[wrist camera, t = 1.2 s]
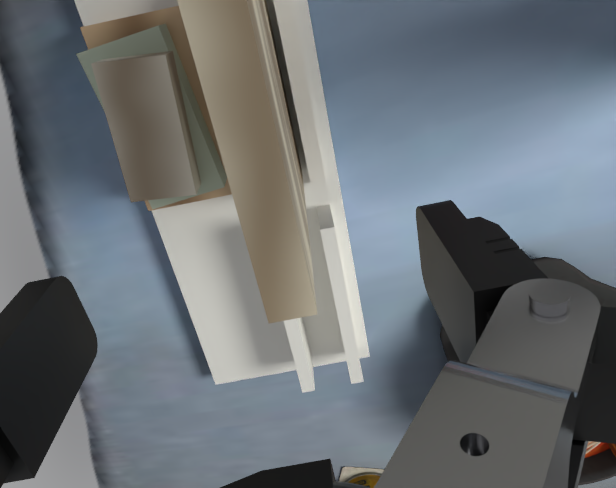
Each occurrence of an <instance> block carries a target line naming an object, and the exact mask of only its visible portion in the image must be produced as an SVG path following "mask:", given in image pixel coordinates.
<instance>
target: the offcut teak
mask: <svg viewBox="0 0 616 488" xmlns="http://www.w3.org/2000/svg"><path fill="white" fill-rule="evenodd" d="M162 24H166V25H167V28H168V30H169V33H170V35H171V38H172V40H173V43H174V45H175V48H176V50H177V53H178V55H179V58H180V60H181V63H182V65H183V68H184V70H185V73H186V75H187V78H188V80H189V83H190V85H191V88H192V90H193V93H194V95H195V98H196V100H197V103H198V105H199V107H200V110H201V112H202V115H203V117H204V120H205V122H206V125H207V127H208V130H209V132H210V135H211V137H212V140H213V142H214V145H215V147H216V150H217V152H218V155H219V157H220V160H221V162H222V165H223V167H224V164H223V161H222V157H221V154H220V150H219V147H218V143H217V139H216V136H215V132H214V129H213V125H212V122H211V118H210V115H209V111H208V108H207V104H206V101H205V97H204V94H203V90H202V86H201V83H200V79H199V76H198V72H197V69H196V65H195V62H194V58H193V55H192V51H191V48H190V44H189V41H188V37H187V34H186V30H185V26H184V23H183V19H182V16H181V12H180V9H179V6H175V7H170V8H166V9H161V10H157V11H152V12H147V13H143V14H138V15H134V16H129V17H125V18H120V19H116V20H111V21H107V22H102V23H97V24H93V25H88V26H84V27H80V29H81V31H82V34H83V37H84V39H85V42H86V45H87V47H88V50H89V49H92V48H95V47H98V46H101V45H103V44H106V43H109V42H112V41H115V40H118V39H121V38H124V37H126V36H129V35H132V34H135V33H138V32H141V31H144V30H147V29H150V28H152V27H155V26H158V25H162ZM224 170H225V168H224ZM225 172H226V171H225ZM231 194H232V192H231V189H230V185H229V182H228V178H227V180H226V183H225V187H223V188H220V189H217V190H214V191H210V192H207V193H204V194H201V195H198V196H194V197H191V198H188V199H185V200H181V201H178V202H175V203H172V204H169V205H165V206H162V207H159V208H156V209H152V208H151V206H150V204H149V202H148V200H147V201H145V203H146V206H147V209H148V211H152V210H157V209H162V208H167V207H172V206H177V205H182V204H187V203H192V202H197V201H202V200H207V199H211V198H216V197H221V196H226V195H231Z"/></svg>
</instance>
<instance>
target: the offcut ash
mask: <svg viewBox="0 0 616 488" xmlns="http://www.w3.org/2000/svg"><path fill="white" fill-rule="evenodd" d="M91 65H92V69H93V72H94V76H95V79H96V83H97V86H98V90H99V93H100V97H101V100H102V104H103V107H104V111H105V114H106V118H107V121H108V125H109V128H110V131H111V135H112V138H113V142H114V145H115V149H116V152H117V156H118V159H119V163H120V166H121V170H122V173H123V177H124V180H125V184H126V187H127V191H128V194H129V198H130V201H131V202H138V201H147V200H155V199H164V198H173V197H181V196H190V195H197V192H198V190H199V188H200V185H201V180H200V175H199V171H198V166H197V161H196V157H195V152H194V147H193V143H192V138H191V133H190V129H189V124H188V119H187V115H186V110H185V105H184V101H183V96H182V91H181V87H180V82H179V77H178V73H177V68H176V63H175V59H174V54H173V51H168V52H159V53H151V54H142V55H134V56H125V57H117V58H108V59H102V60H99V61H97V62H94V63H91Z"/></svg>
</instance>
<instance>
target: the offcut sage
mask: <svg viewBox="0 0 616 488" xmlns="http://www.w3.org/2000/svg"><path fill="white" fill-rule="evenodd" d="M168 51H173V54H174V59H175V63H176V68H177V73H178V77H179V82H180V87H181V91H182V96H183V101H184V105H185V110H186V115H187V119H188V124H189V129H190V133H191V138H192V143H193V147H194V152H195V157H196V161H197V166H198V171H199V175H200V180H201V185H200V188H199V190H198V192H197V195H190V196H181V197H173V198H164V199H155V200H148V202H149V204H150V206H151V208H152V209H156V208H159V207H162V206H165V205H169V204H172V203H175V202H178V201H181V200H185V199H188V198H191V197H194V196H198V195H201V194H204V193H207V192H210V191H214V190H217V189H220V188H223V187H225V183H226V180H227V175H226V172H225V170H224V167H223V165H222V162H221V160H220V157H219V155H218V152H217V150H216V147H215V145H214V142H213V140H212V137H211V135H210V132H209V130H208V127H207V125H206V122H205V120H204V117H203V115H202V112H201V110H200V107H199V105H198V103H197V100H196V98H195V95H194V93H193V90H192V88H191V85H190V83H189V80H188V78H187V75H186V73H185V70H184V68H183V65H182V63H181V60H180V58H179V55H178V53H177V50H176V48H175V45H174V43H173V40H172V38H171V35H170V33H169V30H168V28H167V25H166V24H162V25H158V26H155V27H152V28H150V29H147V30H144V31H141V32H138V33H135V34H132V35H129V36H126V37H124V38H121V39H118V40H115V41H112V42H109V43H106V44H103V45H101V46H98V47H95V48H92V49H89V50H86V51H83V52H80V53H77V54H76V55H77V57H78V59H79V61H80V63H81V65H82V67H83V69H84V71H85V73H86V75H87V77H88V79H89V81H90V83H91V85H92V87H93V89H94V91H95V93H96V96H97V98H98V100H99V102H100V104H101V106H102V108H103V110H104V107H103V104H102V100H101V97H100V93H99V90H98V86H97V83H96V79H95V76H94V72H93V69H92V65H91V63H94V62H97V61H99V60H102V59H108V58H117V57H125V56H134V55H142V54H151V53H159V52H168ZM104 112H105V111H104Z"/></svg>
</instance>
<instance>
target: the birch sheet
mask: <svg viewBox="0 0 616 488" xmlns="http://www.w3.org/2000/svg"><path fill="white" fill-rule="evenodd" d="M177 2H178V5H179V9H180V12H181V16H182V19H183V23H184V26H185V30H186V34H187V37H188V41H189V44H190V48H191V51H192V55H193V58H194V62H195V65H196V69H197V72H198V76H199V79H200V83H201V86H202V90H203V94H204V97H205V101H206V104H207V108H208V111H209V115H210V118H211V122H212V125H213V129H214V132H215V136H216V139H217V143H218V147H219V150H220V154H221V157H222V161H223V164H224V168H225V171H226V175H227V178H228V182H229V185H230V189H231V192H232V196H233V199H234V203H235V207H236V210H237V214H238V217H239V221H240V224H241V228H242V231H243V235H244V238H245V242H246V245H247V249H248V252H249V256H250V259H251V263H252V267H253V270H254V274H255V277H256V281H257V284H258V288H259V291H260V295H261V298H262V302H263V305H264V309H265V312H266V316H267V320H268V323H275V322H280V321H285V320H291V319H296V318H301V317H307V316H312V315H317V306H316V296H315V287H314V278H313V268H312V259H311V250H310V240H309V231H308V222H307V212H306V203H305V194H304V184H303V175H302V168H301V163H300V159H299V154H298V149H297V144H296V140H295V135H294V130H293V125H292V120H291V116H290V111H289V106H288V101H287V97H286V92H285V87H284V82H283V77H282V73H281V68H280V63H279V58H278V54H277V49H276V44H275V39H274V34H273V30H272V25H271V20H270V15H269V11H268V6H267V1H266V0H177Z"/></svg>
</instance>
